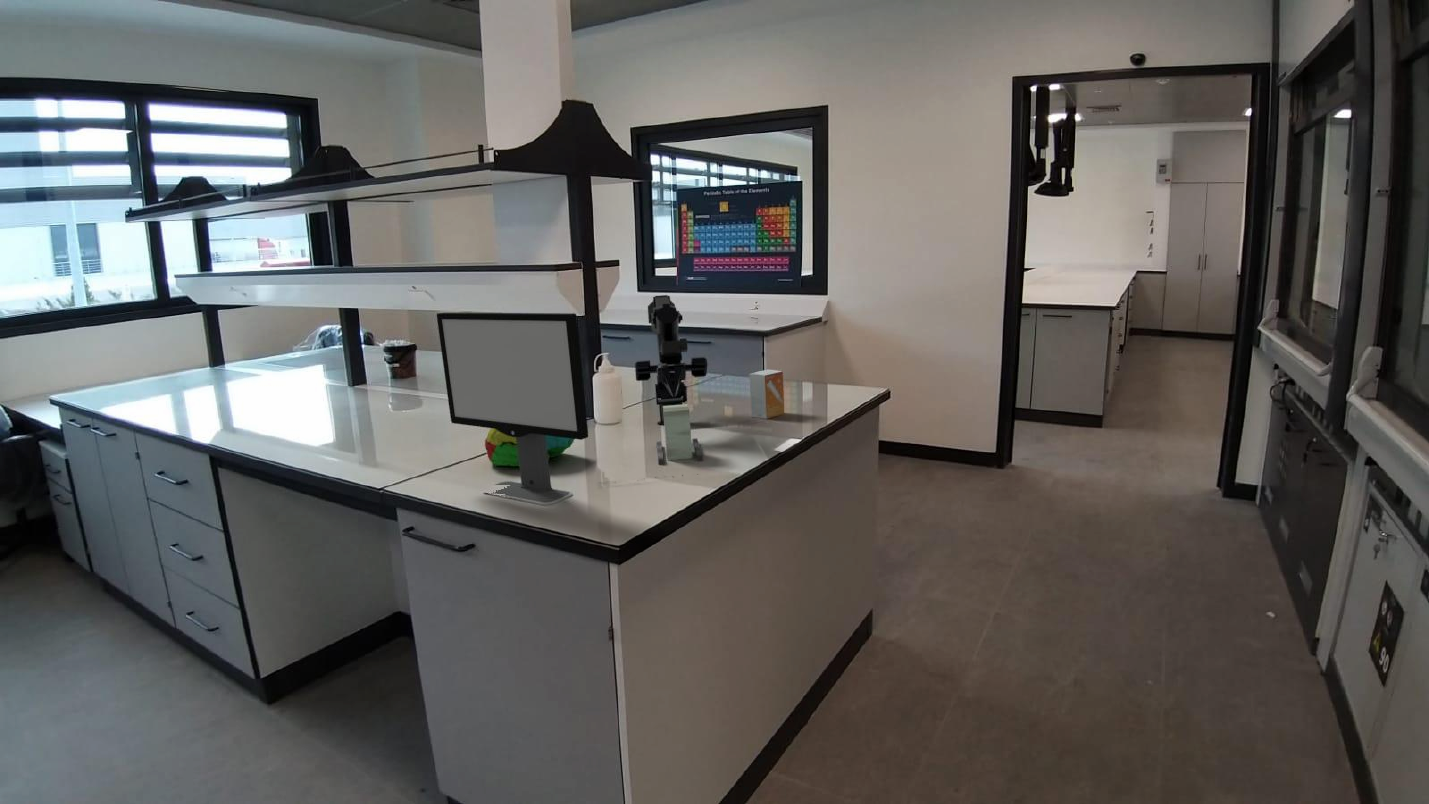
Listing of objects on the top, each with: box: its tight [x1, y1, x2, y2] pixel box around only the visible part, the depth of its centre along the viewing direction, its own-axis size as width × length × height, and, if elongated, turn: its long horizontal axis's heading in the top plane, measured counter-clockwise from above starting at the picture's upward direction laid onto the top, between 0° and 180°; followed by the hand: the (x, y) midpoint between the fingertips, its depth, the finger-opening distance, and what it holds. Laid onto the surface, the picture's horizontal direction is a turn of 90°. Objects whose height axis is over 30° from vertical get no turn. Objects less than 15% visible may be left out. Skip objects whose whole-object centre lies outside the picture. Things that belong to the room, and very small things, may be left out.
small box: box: [749, 369, 785, 420], centre depth 230 cm, size 8×6×13 cm
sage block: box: [663, 403, 693, 461], centre depth 188 cm, size 6×6×12 cm
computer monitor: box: [436, 311, 589, 506], centre depth 169 cm, size 41×8×40 cm, turn 56°
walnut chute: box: [656, 437, 704, 466], centre depth 192 cm, size 16×12×3 cm
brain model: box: [484, 428, 575, 467], centre depth 197 cm, size 24×19×15 cm
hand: (674, 395), depth 201 cm, fingers closed
